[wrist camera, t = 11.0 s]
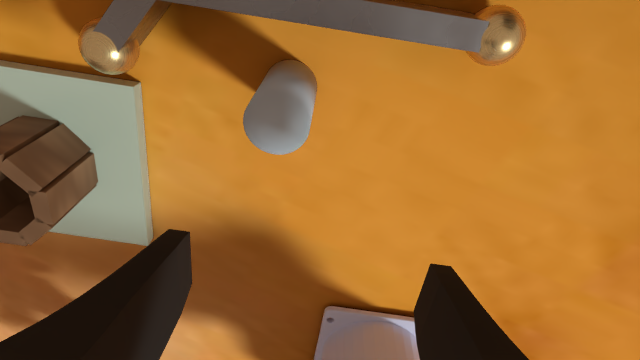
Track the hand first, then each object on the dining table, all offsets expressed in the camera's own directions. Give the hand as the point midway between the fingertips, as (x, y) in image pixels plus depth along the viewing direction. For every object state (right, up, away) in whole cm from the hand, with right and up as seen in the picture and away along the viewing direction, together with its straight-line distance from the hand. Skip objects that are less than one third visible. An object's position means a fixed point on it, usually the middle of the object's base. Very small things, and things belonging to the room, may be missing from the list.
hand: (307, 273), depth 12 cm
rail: (-1, +10, +6) cm, 12 cm away
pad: (-14, +4, +10) cm, 18 cm away
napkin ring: (-14, +4, +10) cm, 18 cm away
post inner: (-1, +8, +8) cm, 11 cm away
